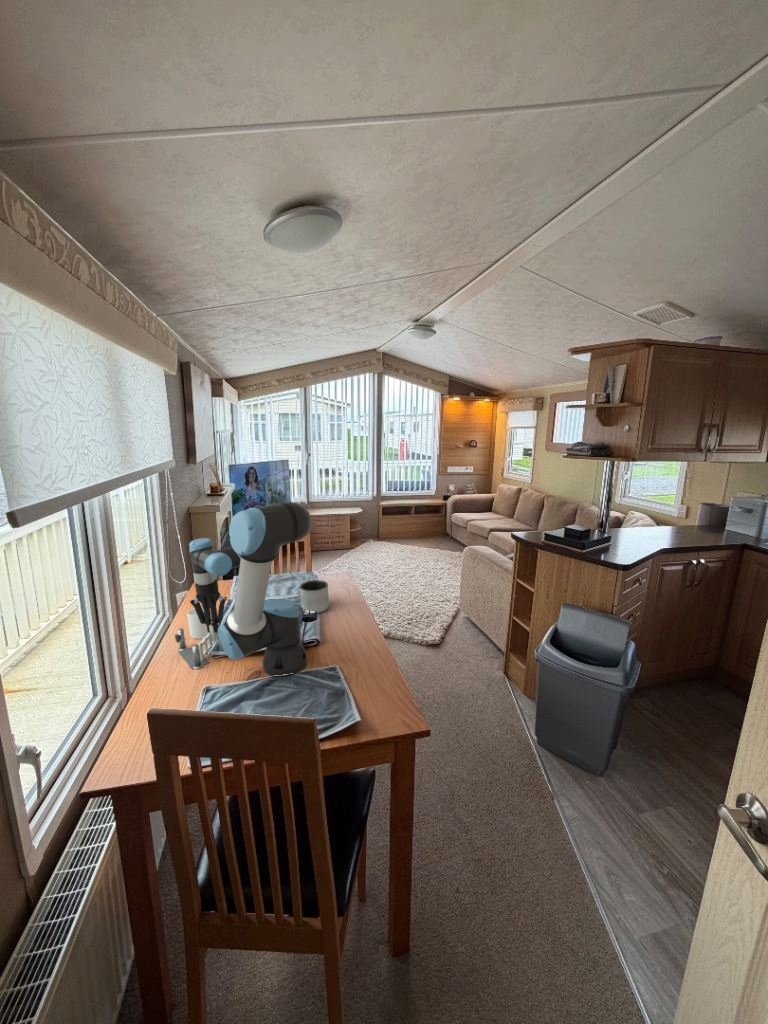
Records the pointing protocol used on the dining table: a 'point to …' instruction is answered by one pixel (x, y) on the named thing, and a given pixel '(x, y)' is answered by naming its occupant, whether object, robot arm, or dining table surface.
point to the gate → (205, 646)
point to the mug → (196, 625)
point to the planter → (314, 595)
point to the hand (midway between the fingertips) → (214, 639)
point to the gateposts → (181, 640)
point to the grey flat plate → (191, 657)
